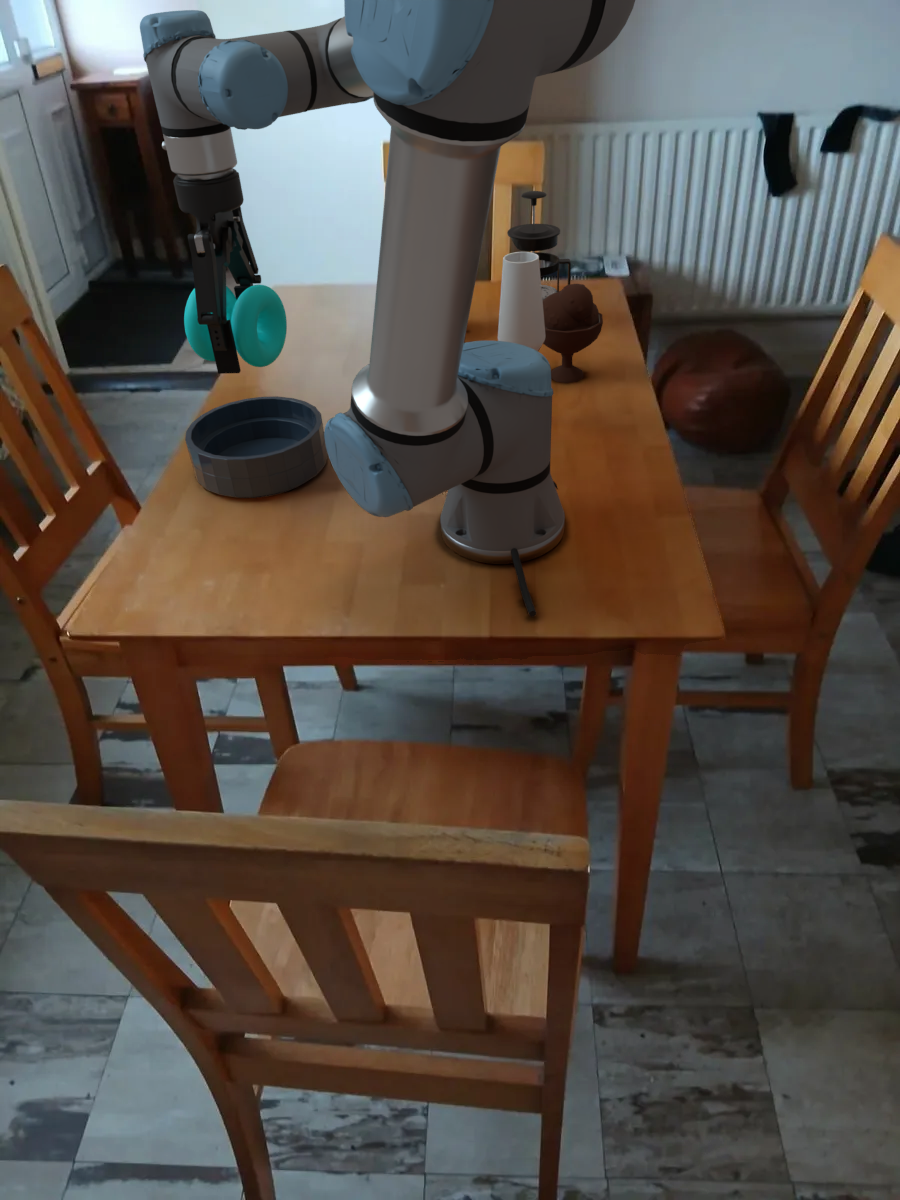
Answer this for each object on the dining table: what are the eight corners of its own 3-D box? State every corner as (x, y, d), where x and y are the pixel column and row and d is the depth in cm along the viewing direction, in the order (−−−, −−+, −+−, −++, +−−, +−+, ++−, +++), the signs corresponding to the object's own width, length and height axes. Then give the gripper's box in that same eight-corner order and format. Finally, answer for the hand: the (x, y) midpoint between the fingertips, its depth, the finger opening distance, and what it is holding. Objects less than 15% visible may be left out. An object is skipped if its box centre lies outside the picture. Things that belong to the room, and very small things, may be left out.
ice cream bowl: (598, 361, 149) (603, 270, 140) (600, 390, 140) (605, 295, 131) (534, 361, 150) (535, 271, 141) (533, 390, 142) (533, 296, 132)
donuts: (232, 342, 122) (216, 268, 116) (296, 349, 119) (283, 274, 113) (190, 372, 115) (171, 295, 109) (256, 381, 112) (241, 302, 106)
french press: (504, 338, 159) (501, 201, 145) (503, 319, 166) (501, 186, 152) (570, 336, 158) (574, 198, 144) (566, 316, 166) (570, 183, 151)
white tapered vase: (532, 407, 137) (532, 246, 122) (552, 425, 132) (555, 259, 117) (492, 417, 135) (487, 254, 120) (511, 436, 130) (508, 268, 115)
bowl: (314, 502, 119) (306, 458, 115) (178, 502, 120) (166, 460, 116) (338, 435, 133) (332, 395, 129) (217, 437, 135) (208, 397, 131)
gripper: (204, 149, 112) (238, 319, 126) (137, 200, 94) (185, 393, 107) (262, 147, 112) (290, 318, 125) (206, 198, 93) (246, 392, 107)
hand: (242, 352), depth 116 cm, fingers closed on donuts, 11 cm apart
